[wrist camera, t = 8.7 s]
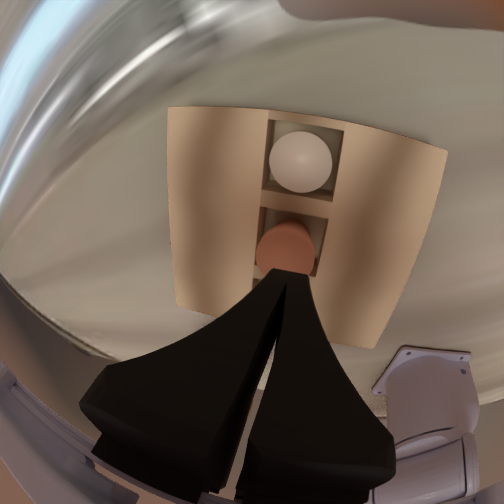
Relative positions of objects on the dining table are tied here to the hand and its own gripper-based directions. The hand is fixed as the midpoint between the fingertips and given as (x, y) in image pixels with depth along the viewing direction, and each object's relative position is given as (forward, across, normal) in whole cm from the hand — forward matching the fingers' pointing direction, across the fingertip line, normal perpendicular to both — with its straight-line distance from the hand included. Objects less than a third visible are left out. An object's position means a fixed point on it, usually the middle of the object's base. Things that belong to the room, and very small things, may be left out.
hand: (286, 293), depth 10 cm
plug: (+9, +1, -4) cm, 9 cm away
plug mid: (+7, +1, +1) cm, 8 cm away
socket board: (+10, +1, +1) cm, 10 cm away
